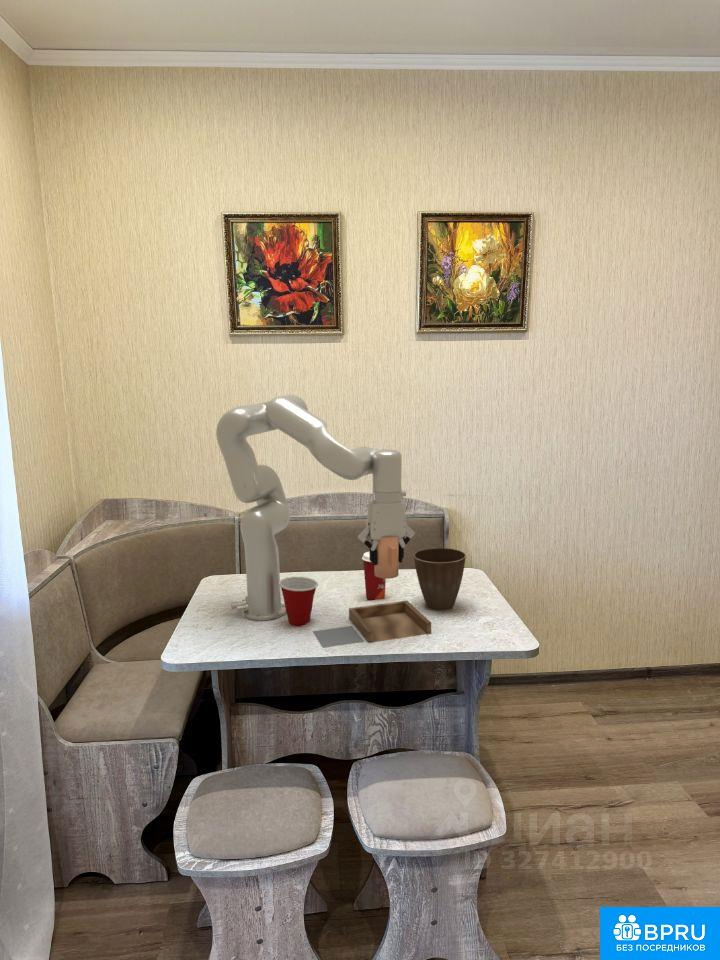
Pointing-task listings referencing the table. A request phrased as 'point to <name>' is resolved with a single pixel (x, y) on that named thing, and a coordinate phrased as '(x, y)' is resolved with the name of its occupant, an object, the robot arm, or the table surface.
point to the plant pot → (439, 576)
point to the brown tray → (389, 621)
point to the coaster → (337, 636)
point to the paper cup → (372, 580)
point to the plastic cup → (298, 598)
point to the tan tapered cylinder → (387, 558)
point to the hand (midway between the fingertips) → (386, 561)
